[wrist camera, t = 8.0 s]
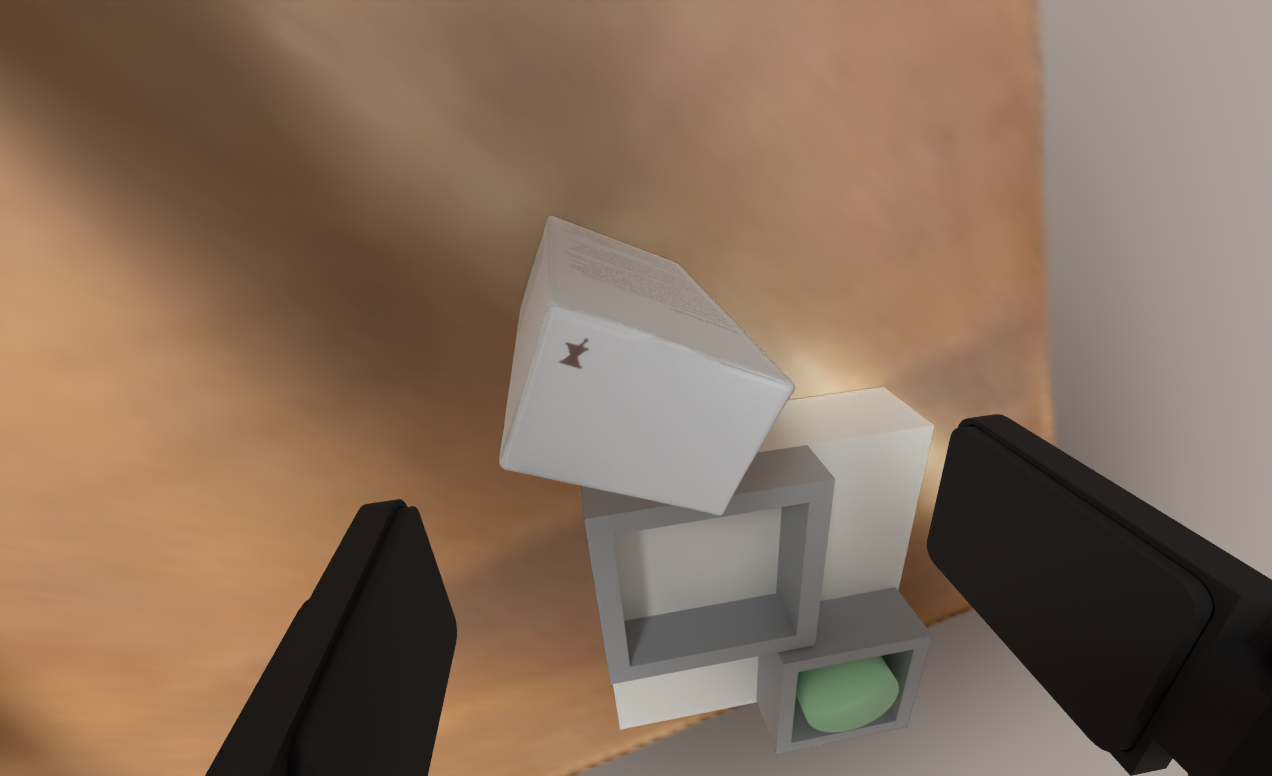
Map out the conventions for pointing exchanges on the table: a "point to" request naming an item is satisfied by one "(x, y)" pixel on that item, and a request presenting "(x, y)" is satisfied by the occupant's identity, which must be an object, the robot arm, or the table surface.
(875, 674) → the on button
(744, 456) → the skincare box
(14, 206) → the table surface
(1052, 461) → the robot arm
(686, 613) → the white socket tray
